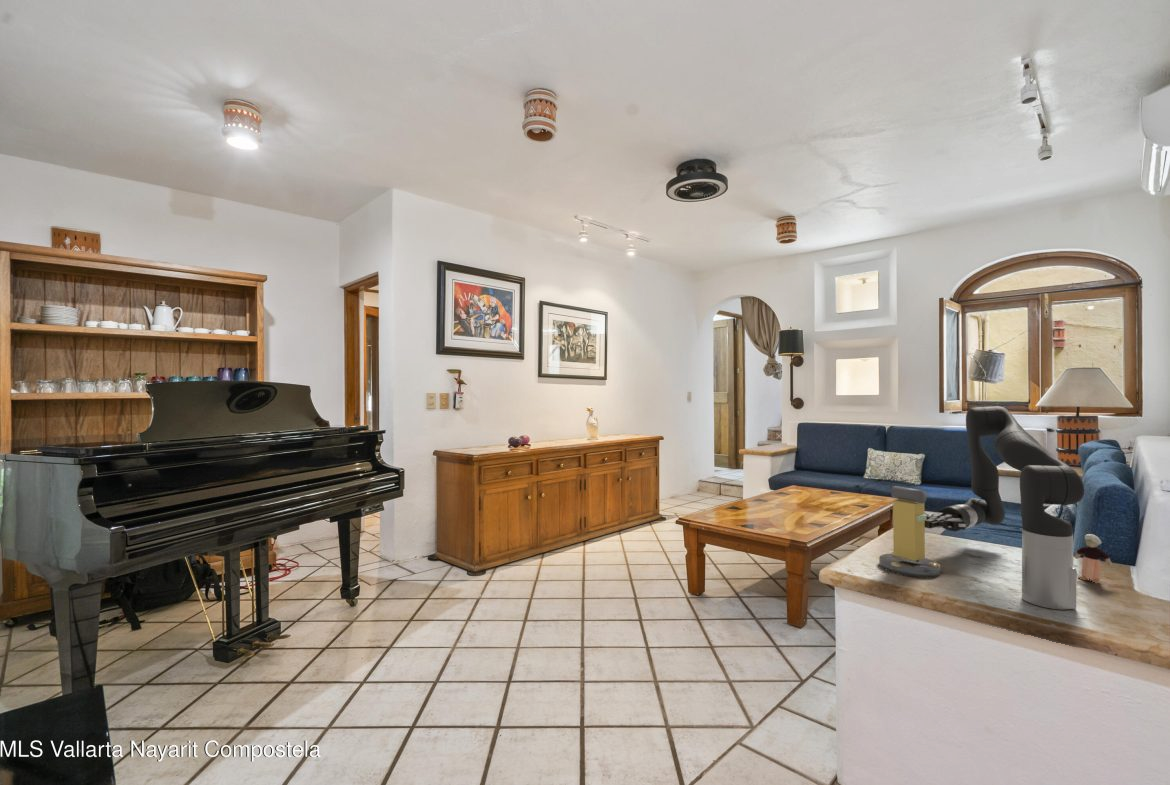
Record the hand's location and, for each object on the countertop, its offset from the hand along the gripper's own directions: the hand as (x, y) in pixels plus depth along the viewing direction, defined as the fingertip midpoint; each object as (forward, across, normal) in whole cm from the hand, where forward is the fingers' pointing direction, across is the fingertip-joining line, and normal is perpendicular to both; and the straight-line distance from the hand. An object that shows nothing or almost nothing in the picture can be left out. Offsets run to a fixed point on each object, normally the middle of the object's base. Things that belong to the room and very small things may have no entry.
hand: (926, 524), depth 157 cm
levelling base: (+9, 0, +12) cm, 15 cm away
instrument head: (+9, 0, +8) cm, 12 cm away
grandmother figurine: (-23, +30, +12) cm, 40 cm away
